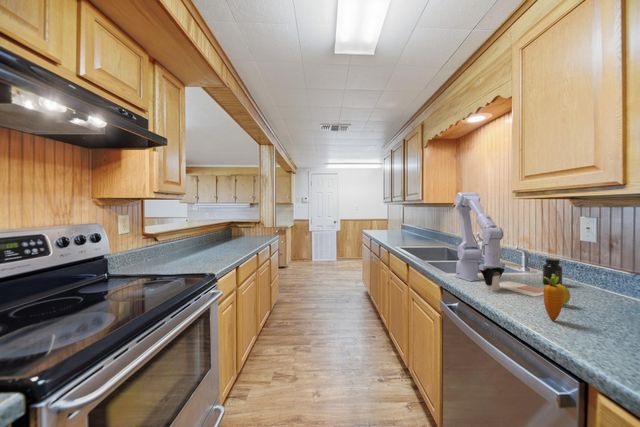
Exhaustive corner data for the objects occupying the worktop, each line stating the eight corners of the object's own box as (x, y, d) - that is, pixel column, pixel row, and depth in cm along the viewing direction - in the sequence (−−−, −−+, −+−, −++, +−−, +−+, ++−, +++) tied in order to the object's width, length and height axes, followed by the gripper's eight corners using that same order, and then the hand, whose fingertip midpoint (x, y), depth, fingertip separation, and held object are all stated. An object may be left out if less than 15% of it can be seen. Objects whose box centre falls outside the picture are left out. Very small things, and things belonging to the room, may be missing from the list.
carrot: (556, 325, 82) (556, 277, 82) (539, 318, 87) (539, 273, 87) (567, 323, 84) (568, 275, 83) (549, 316, 89) (550, 272, 88)
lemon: (574, 308, 96) (574, 286, 96) (558, 308, 96) (558, 286, 96) (560, 302, 101) (560, 281, 101) (545, 302, 102) (546, 281, 101)
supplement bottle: (561, 284, 124) (561, 258, 124) (563, 288, 119) (563, 261, 119) (542, 282, 128) (542, 257, 128) (543, 285, 123) (543, 259, 123)
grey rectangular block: (484, 288, 120) (484, 270, 119) (490, 287, 121) (490, 269, 121) (493, 290, 116) (493, 272, 116) (499, 289, 117) (499, 271, 117)
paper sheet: (491, 285, 124) (491, 284, 124) (510, 281, 129) (510, 280, 129) (534, 297, 108) (534, 295, 108) (554, 292, 112) (554, 291, 112)
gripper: (489, 257, 112) (489, 289, 112) (512, 254, 117) (512, 284, 117) (474, 254, 118) (474, 284, 119) (496, 251, 124) (496, 280, 124)
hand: (492, 284), depth 118 cm, fingers closed on grey rectangular block, 4 cm apart
